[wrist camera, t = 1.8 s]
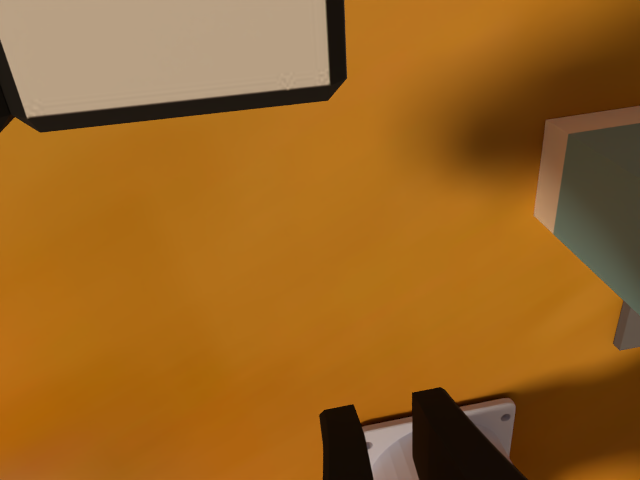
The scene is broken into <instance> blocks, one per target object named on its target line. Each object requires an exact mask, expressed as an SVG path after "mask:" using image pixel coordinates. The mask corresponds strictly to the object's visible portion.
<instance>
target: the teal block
mask: <svg viewBox="0 0 640 480" xmlns="http://www.w3.org/2000/svg"><path fill="white" fill-rule="evenodd" d="M534 216H535V217H536V218H537V219H538V220H539V221H540V222H541V223H542V224H543V225H544V226H545V227H546V228H548V229H549V230H550V231H551V232H552V233H553V234H554V235H555V236H556V237H557V238H558V239H559V240H560V241H561V242H562V243H563V244H564V245H565V246H567V247H568V248H569V249H570V250H571V251H572V252H573V253H574V254H575V255H576V256H577V257H578V258H579V259H580V260H581V261H582V262H583V263H585V264H586V265H587V266H588V267H589V268H590V269H591V270H592V271H593V272H594V273H595V274H596V275H597V276H598V277H599V278H600V279H601V280H603V281H604V282H605V283H606V284H607V285H608V286H609V287H610V288H611V289H612V290H613V291H614V292H615V293H616V294H617V295H618V296H619V297H621V298H622V299H623V300H624V301H625V302H626V303H627V304H628V305H629V306H630V307H631V308H632V309H633V310H634V311H635V312H636V313H637V314H638V315H640V106H635V107H628V108H621V109H615V110H608V111H601V112H595V113H588V114H581V115H574V116H568V117H561V118H554V119H548V120H546V123H545V131H544V139H543V147H542V155H541V162H540V170H539V178H538V186H537V194H536V202H535V209H534Z"/></svg>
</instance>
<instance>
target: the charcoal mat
mask: <svg viewBox="0 0 640 480" xmlns="http://www.w3.org/2000/svg"><path fill="white" fill-rule="evenodd" d="M613 344H614V345H615V346H616V347H617V348H618V349H619V350H625V349H630V348H635V347H640V315H638V314H637V313H636V312H635V311H634V310H633V309H632V308H631V307H630V306H629V305H628V304H627V303H626V302H625V301H624V302H623V306H622V310H621V314H620V318H619V322H618V326H617V330H616V334H615V338H614V342H613Z"/></svg>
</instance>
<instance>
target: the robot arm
mask: <svg viewBox="0 0 640 480" xmlns="http://www.w3.org/2000/svg"><path fill="white" fill-rule="evenodd" d="M515 410H516V406H515V404H514V402H513V401H512V400H511V399H510V398H502V399H497V400H492V401H487V402H482V403H477V404H472V405H467V406H462V407H459V406H458V405H457V404H456V403H455V401H454V400H453V399H452V398H451V397H450V395H449V394H448V393H447V392H446V390H444V389H443V388H441V387H439V388H434V389H429V390H424V391H419V392H414V393H412V417H407V418H402V419H397V420H392V421H387V422H382V423H377V424H372V425H367V426H363V427H362V426H361V423H360V421H359V418H358V415H357V413H356V410H355V407H354V405H353V404H352V405H347V406H342V407H337V408H332V409H327V410H324V411H323V412H322V413H321V414H320V415H319V417H320V425H321V432H322V440H323V480H528V479H527V478H526V477H525V476H524V475H523V474H522V473H521V472H520V471H519V470H518V469H517V468H516V467H515V466H514V465H513V463H512V462H511V460H510V458H509V455H510V447H511V440H512V432H513V425H514V418H515ZM366 442H367V443H366Z"/></svg>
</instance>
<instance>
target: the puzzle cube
mask: <svg viewBox="0 0 640 480" xmlns="http://www.w3.org/2000/svg"><path fill="white" fill-rule="evenodd" d="M346 79H347V66H346V38H345V10H344V0H0V132H1V131H2V130H3V129H4V128H5V127H6V126H7V125H8V124H9V123H10V122H11V121H12V119H13V118H14V117H16V118H18V119H19V120H21V121H23V122H24V123H26V124H27V125H29V126H31V127H32V128H34V129H35V130H37V131H39V132H49V131H58V130H67V129H76V128H85V127H94V126H103V125H112V124H121V123H130V122H139V121H148V120H157V119H166V118H175V117H184V116H193V115H202V114H211V113H220V112H229V111H238V110H247V109H256V108H265V107H274V106H283V105H292V104H301V103H310V102H319V101H328V100H329V99H330V97H331V96H332V95H333V94H334V93H335V92H336V90H337V89H338V88H339V87H340V86H341V85H342V83H343V82H344V81H345V80H346Z"/></svg>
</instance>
